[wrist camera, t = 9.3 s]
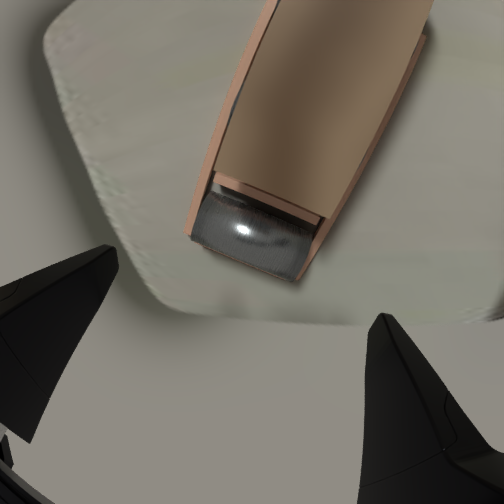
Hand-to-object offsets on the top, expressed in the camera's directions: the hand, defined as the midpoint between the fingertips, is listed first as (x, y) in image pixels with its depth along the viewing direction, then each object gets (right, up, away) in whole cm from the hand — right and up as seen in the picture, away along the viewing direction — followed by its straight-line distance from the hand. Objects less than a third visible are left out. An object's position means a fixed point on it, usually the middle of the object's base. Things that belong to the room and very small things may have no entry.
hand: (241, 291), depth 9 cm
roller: (+1, +3, +11) cm, 11 cm away
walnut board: (+4, +11, +1) cm, 12 cm away
